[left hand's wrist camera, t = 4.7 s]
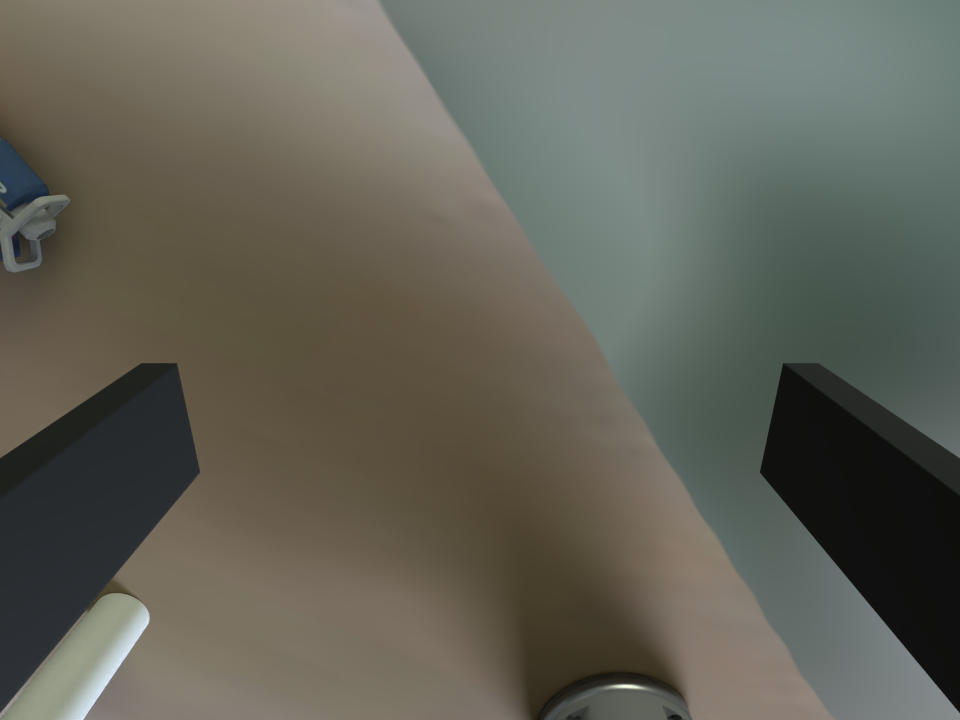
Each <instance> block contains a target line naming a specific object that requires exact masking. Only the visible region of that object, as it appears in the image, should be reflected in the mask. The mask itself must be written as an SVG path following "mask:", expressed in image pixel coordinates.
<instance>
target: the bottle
mask: <svg viewBox="0 0 960 720" xmlns="http://www.w3.org/2000/svg"><path fill="white" fill-rule="evenodd" d="M148 623H149V613H148V610H147V608H146V607H145V606H144V604H143V603H141V602H140V601H139V600H138V599H136V598H134V597H132V596H130V595H127V594H122V593H111V594H107V595H105V596H103V597H101V598H100V599H99V600H98V601H97V602H96V604H95V605H94V606H93V607H92V608H91V610H90V611H89V612H88V613H87V614H86V616H85V617H84V618H83V619H82V621H81V622H80V623H79V624H78V625H77V627H76V628H75V629H74V630H73V632H72V633H71V634H70V635H69V636H68V638H67V639H66V640H65V641H64V642H63V644H62V645H61V646H60V647H59V649H58V650H57V651H56V652H55V653H54V655H53V656H52V657H51V658H50V660H49V661H48V662H47V663H46V664H45V666H44V667H43V668H42V669H41V670H40V672H39V673H38V674H37V675H36V677H35V678H34V679H33V680H32V681H31V683H30V684H29V685H28V686H27V688H26V689H25V690H24V691H23V692H22V694H21V695H20V696H19V697H18V698H17V700H16V701H15V702H14V703H13V705H12V706H11V707H10V708H9V709H8V711H7V712H6V713H5V714H4V715H3V717H2V718H1V719H0V720H83V719H84V717H85V716H86V715H87V713H88V712H89V710H90V709H91V707H92V706H93V704H94V703H95V701H96V700H97V698H98V697H99V695H100V694H101V692H102V691H103V690H104V688H105V687H106V685H107V684H108V682H109V681H110V679H111V678H112V676H113V675H114V673H115V672H116V670H117V669H118V667H119V666H120V664H121V663H122V662H123V660H124V659H125V657H126V656H127V654H128V653H129V651H130V650H131V648H132V647H133V645H134V644H135V642H136V641H137V639H138V638H139V637H140V635H141V634H142V632H143V631H144V629H145V628H146V626H147V625H148Z"/></svg>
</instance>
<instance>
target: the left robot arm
mask: <svg viewBox="0 0 960 720" xmlns="http://www.w3.org/2000/svg"><path fill="white" fill-rule="evenodd" d="M199 473H200V470H199V465H198V460H197V456H196V451H195V446H194V442H193V437H192V432H191V428H190V423H189V418H188V414H187V409H186V404H185V399H184V395H183V390H182V385H181V381H180V376H179V371H178V367H177V363H141V364H140V365H138V366H137V367H135V368H134V369H132V370H131V371H129V372H128V373H126V374H125V375H123V376H122V377H120V378H119V379H117V380H116V381H114V382H113V383H112V384H110V385H109V386H107V387H106V388H104V389H103V390H101V391H100V392H98V393H97V394H95V395H94V396H92V397H91V398H89V399H88V400H86V401H85V402H83V403H82V404H80V405H79V406H77V407H76V408H74V409H73V410H71V411H70V412H68V413H67V414H65V415H64V416H62V417H61V418H60V419H58V420H57V421H55V422H54V423H52V424H51V425H49V426H48V427H46V428H45V429H43V430H42V431H40V432H39V433H37V434H36V435H34V436H33V437H31V438H30V439H28V440H27V441H25V442H24V443H22V444H21V445H19V446H18V447H16V448H15V449H13V450H12V451H10V452H9V453H8V454H6V455H5V456H3V457H2V458H0V713H1V711H2V710H3V709H4V708H5V707H6V705H7V704H8V703H9V702H10V701H11V699H12V698H13V697H14V696H15V695H16V693H17V692H18V691H19V690H20V689H21V687H22V686H23V685H24V684H25V683H26V681H27V680H28V679H29V678H30V677H31V675H32V674H33V673H34V672H35V671H36V669H37V668H38V667H39V666H40V664H41V663H42V662H43V661H44V660H45V658H46V657H47V656H48V655H49V654H50V652H51V651H52V650H53V649H54V648H55V646H56V645H57V644H58V643H59V642H60V640H61V639H62V638H63V637H64V636H65V634H66V633H67V632H68V631H69V630H70V628H71V627H72V626H73V625H74V624H75V622H76V621H77V620H78V619H79V618H80V616H81V615H82V614H83V613H84V612H85V610H86V609H87V608H88V607H89V606H90V604H91V603H92V602H93V601H94V599H95V598H96V597H97V596H98V595H99V593H100V592H101V591H102V590H103V589H104V587H105V586H106V585H107V584H108V583H109V581H110V580H111V579H112V578H113V577H114V575H115V574H116V573H117V572H118V571H119V569H120V568H121V567H122V566H123V565H124V563H125V562H126V561H127V560H128V559H129V557H130V556H131V555H132V554H133V553H134V551H135V550H136V549H137V548H138V547H139V545H140V544H141V543H142V542H143V541H144V539H145V538H146V537H147V536H148V534H149V533H150V532H151V531H152V530H153V528H154V527H155V526H156V525H157V524H158V522H159V521H160V520H161V519H162V518H163V516H164V515H165V514H166V513H167V512H168V510H169V509H170V508H171V507H172V506H173V504H174V503H175V502H176V501H177V500H178V498H179V497H180V496H181V495H182V494H183V492H184V491H185V490H186V489H187V488H188V486H189V485H190V484H191V483H192V482H193V480H194V479H195V478H196V477H197V476H198V474H199ZM760 473H761V474H762V476H763V477H764V478H765V479H766V480H767V482H768V483H769V484H770V485H771V486H772V488H773V489H774V490H775V491H776V492H777V494H778V495H779V496H780V497H781V498H782V500H783V501H784V502H785V503H786V504H787V506H788V507H789V508H790V509H791V510H792V512H793V513H794V514H795V515H796V516H797V518H798V519H799V520H800V521H801V522H802V524H803V525H804V526H805V527H806V528H807V530H808V531H809V532H810V533H811V534H812V536H813V537H814V538H815V539H816V541H817V542H818V543H819V544H820V545H821V546H822V548H823V549H824V550H825V551H826V552H827V554H828V555H829V556H830V557H831V559H832V560H833V561H834V562H835V563H836V565H837V566H838V567H839V568H840V569H841V571H842V572H843V573H844V574H845V575H846V577H847V578H848V579H849V580H850V581H851V583H852V584H853V585H854V586H855V587H856V589H857V590H858V591H859V592H860V593H861V595H862V596H863V597H864V598H865V599H866V601H867V602H868V603H869V604H870V606H871V607H872V608H873V609H874V610H875V612H876V613H877V614H878V615H879V616H880V618H881V619H882V620H883V621H884V622H885V624H886V625H887V626H888V627H889V628H890V630H891V631H892V632H893V633H894V634H895V636H896V637H897V638H898V639H899V640H900V642H901V643H902V644H903V645H904V646H905V648H906V649H907V650H908V651H909V652H910V654H911V655H912V656H913V657H914V658H915V660H916V661H917V662H918V663H919V664H920V666H921V667H922V668H923V669H924V670H925V672H926V673H927V674H928V675H929V676H930V678H931V679H932V680H933V681H934V683H935V684H936V685H937V686H938V687H939V689H940V690H941V691H942V692H943V693H944V694H945V696H946V697H947V698H948V699H949V701H950V702H951V703H952V704H953V705H954V707H955V708H956V709H957V710H958V711H959V713H960V458H958V457H957V456H955V455H954V454H952V453H951V452H950V451H948V450H947V449H945V448H944V447H942V446H941V445H939V444H938V443H936V442H935V441H933V440H932V439H930V438H929V437H927V436H926V435H924V434H923V433H921V432H920V431H918V430H917V429H915V428H914V427H912V426H911V425H909V424H908V423H906V422H905V421H903V420H902V419H900V418H899V417H898V416H896V415H895V414H893V413H892V412H890V411H889V410H887V409H886V408H884V407H883V406H881V405H880V404H878V403H877V402H875V401H874V400H872V399H871V398H869V397H868V396H866V395H865V394H863V393H862V392H860V391H859V390H857V389H856V388H854V387H853V386H851V385H850V384H848V383H847V382H846V381H844V380H843V379H841V378H840V377H838V376H837V375H835V374H834V373H832V372H831V371H829V370H828V369H826V368H825V367H823V366H822V365H820V364H819V363H783V367H782V371H781V376H780V381H779V385H778V390H777V395H776V399H775V404H774V409H773V414H772V418H771V423H770V428H769V432H768V437H767V442H766V446H765V451H764V456H763V460H762V465H761V470H760ZM539 720H692V718H691V715H690V712H689V709H688V707H687V705H686V703H685V701H684V700H683V698H682V697H681V696H680V695H679V694H678V693H677V692H676V691H675V690H674V689H672V688H671V687H670V686H668V685H666V684H665V683H663V682H661V681H658V680H656V679H653V678H650V677H647V676H643V675H637V674H629V673H612V674H603V675H598V676H593V677H589V678H586V679H583V680H581V681H578V682H576V683H574V684H572V685H570V686H568V687H566V688H565V689H563V690H562V691H560V692H559V693H558V694H556V695H555V696H554V697H553V698H552V699H551V700H550V701H549V702H548V703H547V705H546V706H545V708H544V709H543V711H542V713H541V715H540V717H539Z"/></svg>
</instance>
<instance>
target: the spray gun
mask: <svg viewBox="0 0 960 720" xmlns="http://www.w3.org/2000/svg"><path fill="white" fill-rule="evenodd" d="M48 195H49V191H48V188H47V186H46V184H45V183H44V182H43V181H42V180H41V179H40V178H39V177H38V176H37V174H36V173H35V172H34V171H33V170H32V169H31V168H30V167H29V165H28V164H27V163H26V162H25V161H24V160H23V159H22V158H21V156H20V155H19V154H18V153H17V152H16V151H15V150H14V149H13V147H12V146H11V145H10V144H9V143H8V142H7V141H6V140H4V139H2V138H1V137H0V261H1V260H3V262H4V266H5V268H6V269H7V270H8V271H10V272H15V273H16V272H20V271H24V270H27V269H31V268H35V267H38V266H39V265H40V264H41V262H42V254H41V246H40V240H42V239H44V238H46V237H48V236H50V235H51V234H52V233H54V232H55V230H56V223H57V222H56V220H55V219H54V217H55V216H56V215H57V214H58V213H59V212H60V211H62V210H63V209H64V208H65V207H66V206H67V205H68V204H69V203H70V200H69V198H68V197H67V196H66V195H54V196H48ZM48 206H50V207H49V208H48V209H47V210H45V209H44V208H46V207H48ZM17 231H19V232H20V233H21V234H22V235H23V236H24V237H25V238H26V239H29V244H30V252H31V256H30V259H29V260H28V261H26V262H21V263H16V262H15V257H18V256H19V255H20V249H19V242H18V234H17Z"/></svg>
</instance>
